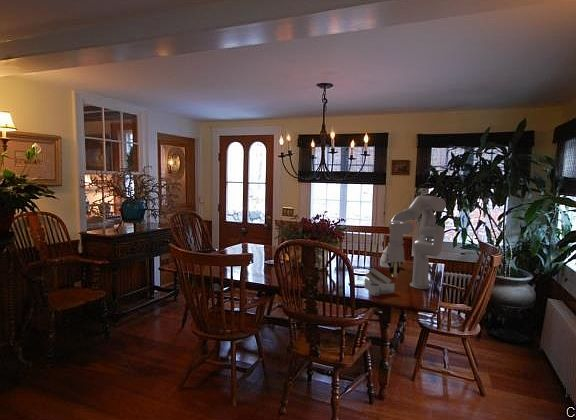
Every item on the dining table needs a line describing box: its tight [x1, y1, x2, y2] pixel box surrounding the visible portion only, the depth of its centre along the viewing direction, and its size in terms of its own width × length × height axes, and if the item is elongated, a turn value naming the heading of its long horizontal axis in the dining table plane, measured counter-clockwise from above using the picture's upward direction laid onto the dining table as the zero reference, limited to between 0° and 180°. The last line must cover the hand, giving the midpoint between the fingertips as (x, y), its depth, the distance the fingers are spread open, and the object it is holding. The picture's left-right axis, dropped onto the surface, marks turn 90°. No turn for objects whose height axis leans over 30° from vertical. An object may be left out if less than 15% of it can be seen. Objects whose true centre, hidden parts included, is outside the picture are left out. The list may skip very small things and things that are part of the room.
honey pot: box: [379, 242, 390, 269], centre depth 301 cm, size 13×13×18 cm
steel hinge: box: [364, 277, 396, 297], centre depth 235 cm, size 17×17×6 cm
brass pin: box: [390, 262, 398, 278], centre depth 222 cm, size 3×3×10 cm
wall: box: [364, 267, 392, 284], centre depth 250 cm, size 16×9×15 cm
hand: (394, 272), depth 222 cm, fingers closed on brass pin, 3 cm apart
